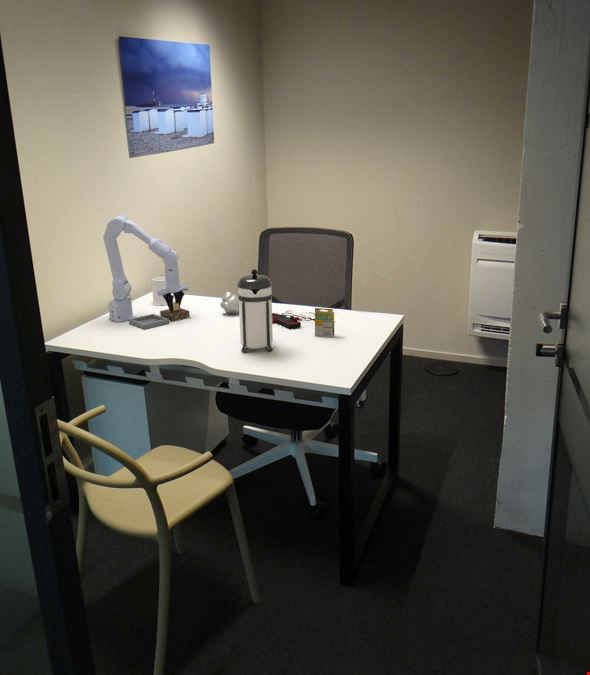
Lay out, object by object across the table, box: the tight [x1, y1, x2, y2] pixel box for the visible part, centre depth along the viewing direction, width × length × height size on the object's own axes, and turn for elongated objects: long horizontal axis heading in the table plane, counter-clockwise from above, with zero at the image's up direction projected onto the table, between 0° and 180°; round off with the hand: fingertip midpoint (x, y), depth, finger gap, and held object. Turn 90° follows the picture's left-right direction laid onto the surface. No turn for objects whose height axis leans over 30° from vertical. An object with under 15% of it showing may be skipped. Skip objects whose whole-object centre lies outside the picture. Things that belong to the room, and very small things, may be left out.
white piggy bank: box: [219, 291, 239, 315], centre depth 297 cm, size 9×10×10 cm
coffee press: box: [236, 268, 274, 354], centre depth 249 cm, size 17×16×30 cm
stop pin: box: [171, 301, 179, 312], centre depth 293 cm, size 3×3×6 cm
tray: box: [128, 313, 170, 330], centre depth 285 cm, size 12×12×2 cm
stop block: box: [159, 307, 191, 322], centre depth 293 cm, size 9×9×3 cm
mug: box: [151, 276, 174, 306], centre depth 314 cm, size 12×8×12 cm
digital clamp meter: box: [272, 310, 315, 330], centre depth 287 cm, size 23×4×25 cm
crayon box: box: [314, 307, 335, 338], centre depth 264 cm, size 7×3×12 cm, turn 74°
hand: (174, 309), depth 293 cm, fingers closed on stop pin, 3 cm apart
